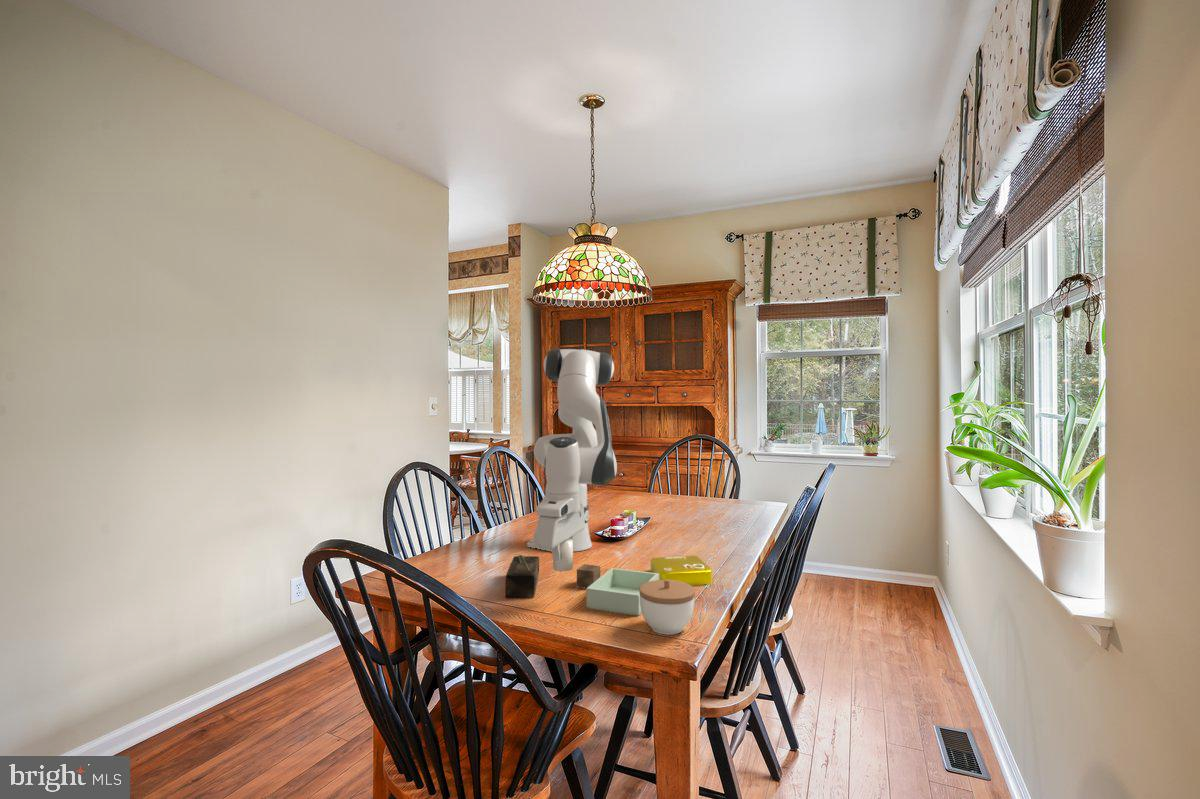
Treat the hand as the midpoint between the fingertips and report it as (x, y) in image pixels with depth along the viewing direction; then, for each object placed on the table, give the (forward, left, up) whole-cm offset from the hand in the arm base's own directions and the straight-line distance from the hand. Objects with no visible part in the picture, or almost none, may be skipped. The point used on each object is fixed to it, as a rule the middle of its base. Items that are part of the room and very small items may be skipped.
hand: (562, 556), depth 148 cm
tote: (+14, +8, -12) cm, 20 cm away
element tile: (+23, +31, -13) cm, 41 cm away
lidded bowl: (+29, -5, -12) cm, 31 cm away
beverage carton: (-16, +8, -13) cm, 22 cm away
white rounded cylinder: (0, 0, -3) cm, 3 cm away
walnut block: (+1, +15, -12) cm, 20 cm away
